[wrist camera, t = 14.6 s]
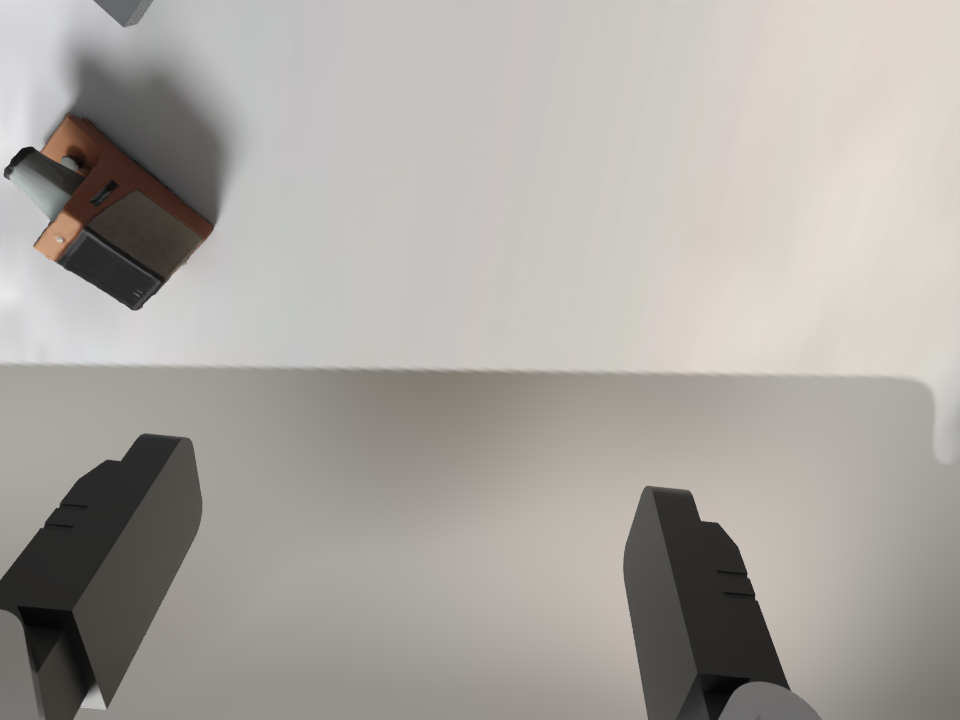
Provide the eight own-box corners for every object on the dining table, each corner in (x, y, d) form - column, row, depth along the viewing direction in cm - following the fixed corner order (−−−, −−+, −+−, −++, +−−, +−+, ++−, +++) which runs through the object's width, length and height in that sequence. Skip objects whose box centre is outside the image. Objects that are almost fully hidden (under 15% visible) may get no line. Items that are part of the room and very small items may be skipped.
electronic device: (79, 105, 38) (-5, 142, 32) (220, 225, 42) (170, 281, 36) (41, 157, 40) (-46, 203, 34) (180, 269, 44) (125, 329, 38)
